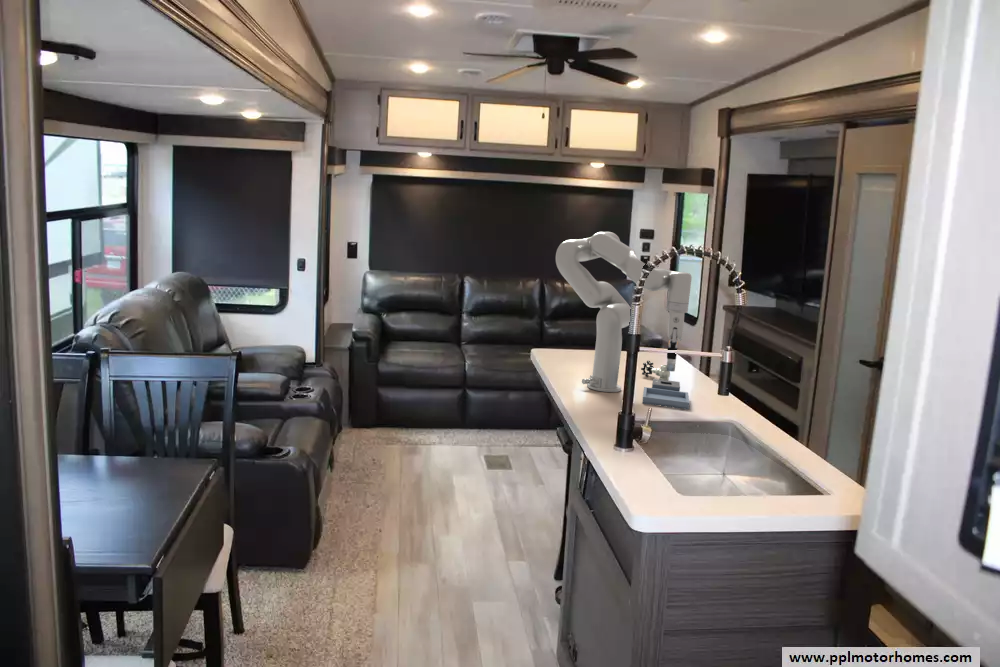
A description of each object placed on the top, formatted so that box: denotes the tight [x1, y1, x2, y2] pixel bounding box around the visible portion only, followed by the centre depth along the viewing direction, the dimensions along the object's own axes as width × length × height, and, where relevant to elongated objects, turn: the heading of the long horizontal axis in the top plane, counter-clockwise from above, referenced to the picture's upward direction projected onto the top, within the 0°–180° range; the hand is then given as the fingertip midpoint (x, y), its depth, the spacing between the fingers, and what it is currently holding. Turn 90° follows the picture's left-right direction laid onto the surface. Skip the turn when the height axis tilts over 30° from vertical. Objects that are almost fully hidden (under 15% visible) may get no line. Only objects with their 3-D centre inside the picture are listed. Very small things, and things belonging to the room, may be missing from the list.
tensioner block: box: [651, 378, 681, 392], centre depth 315 cm, size 10×10×4 cm
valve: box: [640, 360, 671, 381], centre depth 336 cm, size 7×7×12 cm
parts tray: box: [641, 386, 690, 410], centre depth 301 cm, size 16×16×2 cm
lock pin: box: [666, 341, 679, 372], centre depth 298 cm, size 3×3×11 cm
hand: (671, 357), depth 298 cm, fingers closed on lock pin, 3 cm apart
